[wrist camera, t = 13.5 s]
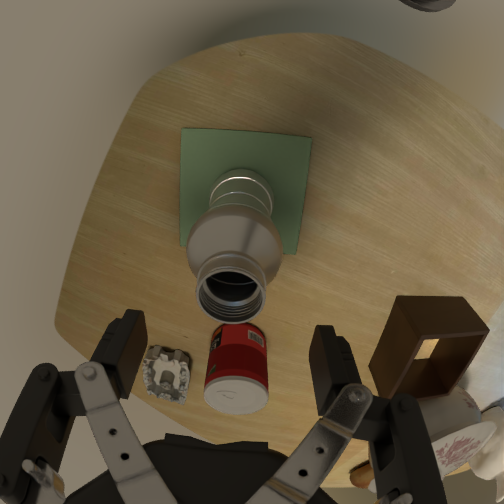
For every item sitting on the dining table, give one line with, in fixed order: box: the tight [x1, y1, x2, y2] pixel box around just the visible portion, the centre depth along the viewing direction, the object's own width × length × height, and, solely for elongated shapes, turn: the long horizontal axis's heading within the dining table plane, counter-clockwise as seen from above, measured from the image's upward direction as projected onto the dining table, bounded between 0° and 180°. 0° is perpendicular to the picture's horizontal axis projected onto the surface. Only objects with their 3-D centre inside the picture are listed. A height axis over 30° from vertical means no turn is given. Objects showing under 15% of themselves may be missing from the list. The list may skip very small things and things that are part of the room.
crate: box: [369, 296, 490, 401], centre depth 41 cm, size 15×14×9 cm
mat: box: [180, 128, 312, 255], centre depth 35 cm, size 14×14×1 cm
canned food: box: [204, 323, 268, 415], centre depth 40 cm, size 8×8×11 cm
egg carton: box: [143, 345, 190, 405], centre depth 46 cm, size 11×8×4 cm
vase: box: [468, 406, 504, 502], centre depth 50 cm, size 19×21×30 cm
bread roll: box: [350, 463, 374, 488], centre depth 65 cm, size 10×15×8 cm, turn 137°
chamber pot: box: [368, 386, 497, 494], centre depth 45 cm, size 28×28×21 cm
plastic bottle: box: [186, 169, 283, 324], centre depth 25 cm, size 6×7×20 cm
